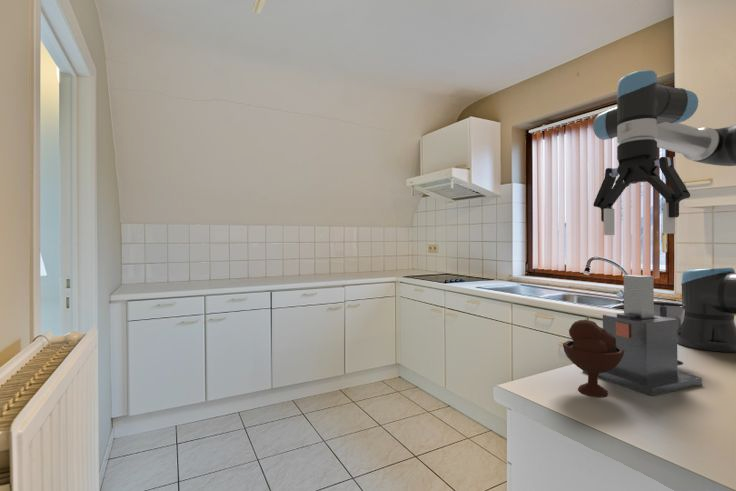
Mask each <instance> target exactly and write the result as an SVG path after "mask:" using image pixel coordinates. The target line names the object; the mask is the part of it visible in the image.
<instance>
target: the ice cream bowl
mask: <svg viewBox="0 0 736 491" xmlns="http://www.w3.org/2000/svg"><path fill="white" fill-rule="evenodd" d="M568 334H569V335H568V336H569V337H570V338H571V340H567V341H565V342H563V343H562V347H563V351H564V353H565V355H566V357H567V359H569V361H571V363H572V364H574V365H575V366H576V367H578V368H579V369H580V370H581V371H583V370H584V371H586V372H587V373H586V372H585V373H586V374H587V382H585V383H583V384H580V385H579V386H578V388H577V390H578V391H579V392H580V393H581V394H584V395H586V396H589V397H596V398H603V397H607V396H608V395H609V392H608V390H607V389H606V388H604V387H603V386H601V385H600V384H599V382H598V381H599V380H598V378H599V377H598V375H599V373H605V372H608V371H610V370H612V369H613V368H614V367H616V366H617V365H618V364H619V363H620V361H621V359H622V357H623V354H624V349H622V348H620V347H618V346H616V338H615V337H614V336H613V335H612V334H611V333H609V332H608V331H607V330H605V329H603V327H601V326H599V325H598V324H597V323H596V322H594V321H592V320H588V319H580V320H577V321H574V322H573V323H572V324H571V326H570V327H569V329H568Z"/></svg>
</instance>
